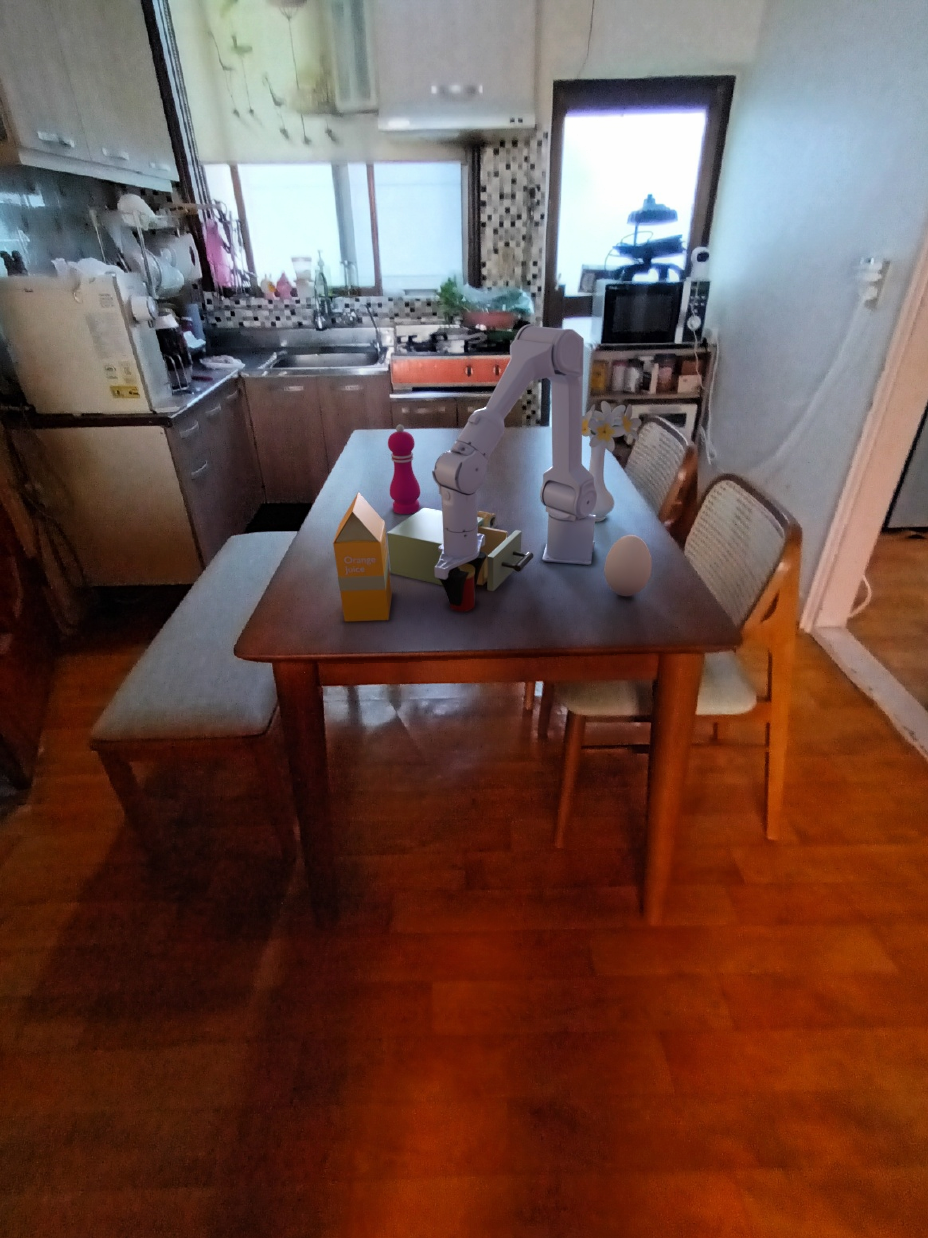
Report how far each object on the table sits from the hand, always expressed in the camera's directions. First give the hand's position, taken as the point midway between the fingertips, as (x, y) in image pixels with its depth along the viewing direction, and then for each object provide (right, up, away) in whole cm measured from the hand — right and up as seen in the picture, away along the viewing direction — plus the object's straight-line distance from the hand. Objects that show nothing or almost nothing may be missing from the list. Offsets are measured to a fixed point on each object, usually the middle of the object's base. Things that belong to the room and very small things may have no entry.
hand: (462, 597), depth 109 cm
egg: (+29, +1, +3) cm, 29 cm away
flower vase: (+29, +19, +32) cm, 48 cm away
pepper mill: (-13, +22, +39) cm, 47 cm away
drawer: (+5, +5, +9) cm, 12 cm away
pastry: (+3, +16, +29) cm, 33 cm away
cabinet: (-5, +7, +14) cm, 16 cm away
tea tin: (0, -1, +1) cm, 2 cm away
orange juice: (-17, -2, +1) cm, 17 cm away
